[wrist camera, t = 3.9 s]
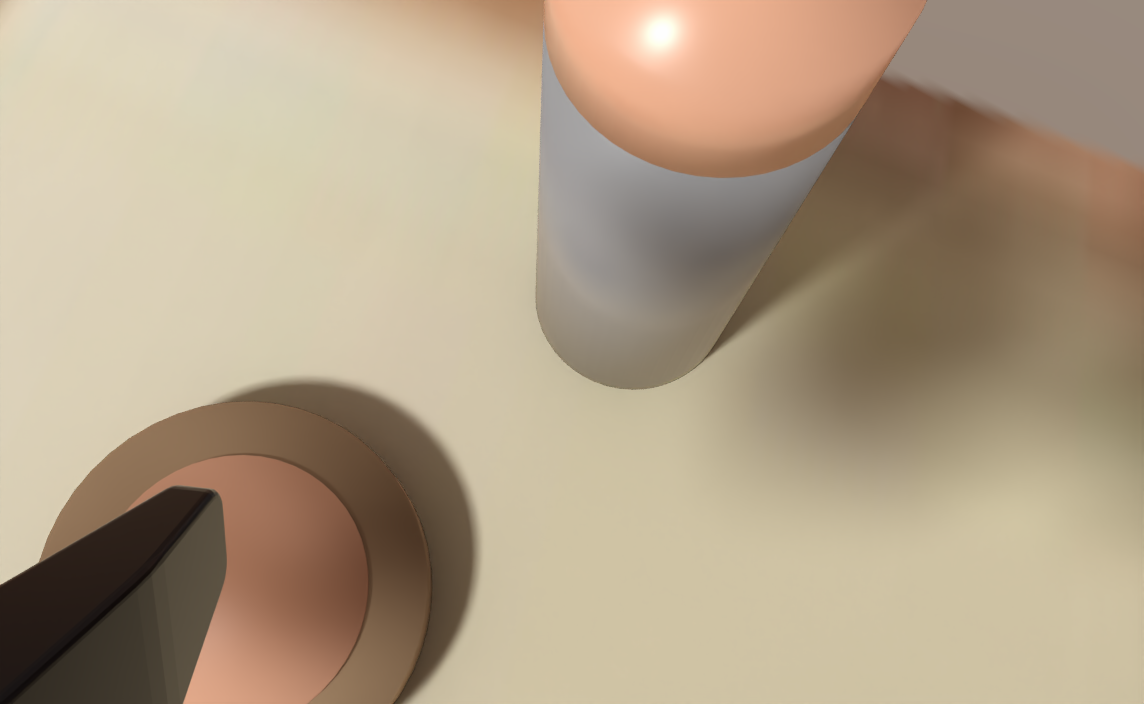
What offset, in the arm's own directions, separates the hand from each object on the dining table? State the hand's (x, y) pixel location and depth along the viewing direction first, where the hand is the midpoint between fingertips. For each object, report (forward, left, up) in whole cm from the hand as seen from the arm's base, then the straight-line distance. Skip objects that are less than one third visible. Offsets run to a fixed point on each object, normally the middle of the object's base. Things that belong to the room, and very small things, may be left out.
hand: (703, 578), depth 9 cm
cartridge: (+7, -4, -13) cm, 15 cm away
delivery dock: (+3, +7, -13) cm, 15 cm away
